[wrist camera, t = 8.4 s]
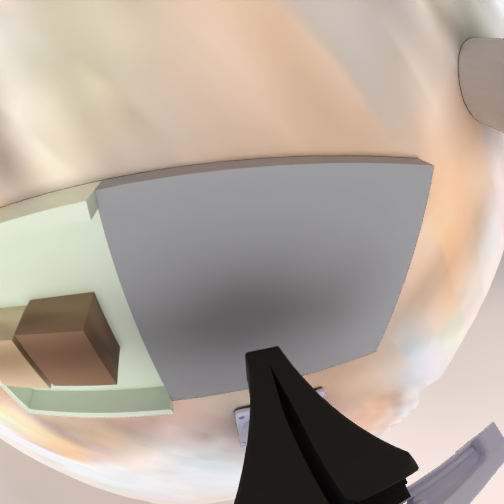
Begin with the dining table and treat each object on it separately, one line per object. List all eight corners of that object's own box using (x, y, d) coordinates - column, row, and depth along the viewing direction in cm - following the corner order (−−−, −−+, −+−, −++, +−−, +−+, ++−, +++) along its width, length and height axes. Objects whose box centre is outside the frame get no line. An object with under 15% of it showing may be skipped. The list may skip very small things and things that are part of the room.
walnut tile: (120, 347, 14) (117, 384, 12) (61, 351, 13) (53, 385, 11) (93, 291, 11) (83, 330, 9) (30, 299, 11) (14, 335, 9)
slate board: (368, 340, 20) (376, 351, 19) (170, 386, 17) (172, 400, 16) (418, 158, 12) (433, 165, 11) (101, 180, 10) (93, 190, 9)
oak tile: (58, 355, 13) (50, 388, 11) (14, 355, 12) (4, 385, 10) (26, 305, 11) (11, 340, 9) (-18, 309, 10) (-33, 340, 8)
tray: (170, 386, 17) (173, 413, 15) (32, 390, 15) (28, 412, 13) (101, 180, 10) (85, 200, 8) (-65, 233, 7) (-85, 254, 5)
